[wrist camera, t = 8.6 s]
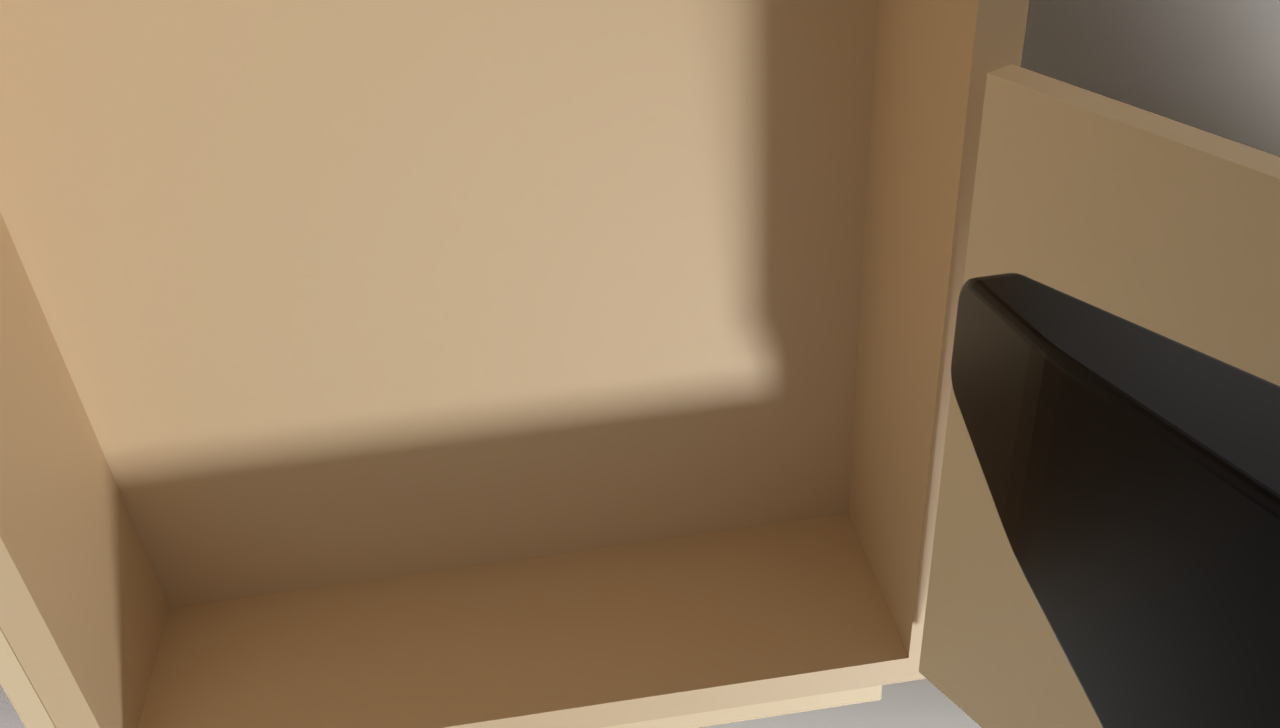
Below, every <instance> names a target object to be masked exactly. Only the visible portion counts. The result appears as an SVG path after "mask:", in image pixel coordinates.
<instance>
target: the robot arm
mask: <svg viewBox="0 0 1280 728" xmlns="http://www.w3.org/2000/svg"><path fill="white" fill-rule="evenodd" d="M951 380H952V386H953V391H954V395H955V398H956V401H957V403H958V406H959V409H960V411H961V414H962V417H963V420H964V422H965V425H966V428H967V430H968V433H969V436H970V439H971V441H972V444H973V447H974V450H975V452H976V455H977V458H978V460H979V463H980V466H981V469H982V471H983V474H984V477H985V479H986V482H987V485H988V488H989V490H990V493H991V496H992V498H993V501H994V504H995V507H996V509H997V512H998V515H999V517H1000V520H1001V523H1002V526H1003V528H1004V531H1005V533H1006V536H1007V538H1008V541H1009V543H1010V546H1011V548H1012V551H1013V553H1014V555H1015V557H1016V559H1017V561H1018V563H1019V565H1020V567H1021V569H1022V571H1023V574H1024V576H1025V578H1026V580H1027V582H1028V584H1029V585H1030V587H1031V589H1032V591H1033V593H1034V595H1035V597H1036V599H1037V601H1038V603H1039V605H1040V607H1041V609H1042V611H1043V613H1044V615H1045V617H1046V618H1047V620H1048V622H1049V624H1050V626H1051V628H1052V630H1053V632H1054V634H1055V636H1056V638H1057V640H1058V642H1059V644H1060V646H1061V648H1062V650H1063V651H1064V653H1065V655H1066V657H1067V659H1068V661H1069V663H1070V665H1071V667H1072V669H1073V671H1074V673H1075V675H1076V677H1077V679H1078V681H1079V682H1080V684H1081V686H1082V688H1083V690H1084V692H1085V694H1086V696H1087V698H1088V700H1089V702H1090V704H1091V706H1092V708H1093V710H1094V712H1095V714H1096V715H1097V717H1098V719H1099V721H1100V723H1101V725H1102V727H1103V728H1280V386H1278V385H1276V384H1274V383H1271V382H1269V381H1267V380H1264V379H1262V378H1260V377H1257V376H1255V375H1253V374H1250V373H1248V372H1246V371H1243V370H1241V369H1239V368H1237V367H1234V366H1232V365H1230V364H1227V363H1225V362H1223V361H1220V360H1218V359H1216V358H1213V357H1211V356H1209V355H1206V354H1204V353H1202V352H1199V351H1197V350H1195V349H1193V348H1190V347H1188V346H1186V345H1183V344H1181V343H1179V342H1176V341H1174V340H1172V339H1169V338H1167V337H1165V336H1162V335H1160V334H1158V333H1155V332H1153V331H1151V330H1149V329H1146V328H1144V327H1142V326H1139V325H1137V324H1135V323H1132V322H1130V321H1128V320H1125V319H1123V318H1121V317H1118V316H1116V315H1114V314H1112V313H1109V312H1107V311H1105V310H1102V309H1100V308H1098V307H1095V306H1093V305H1091V304H1088V303H1086V302H1084V301H1081V300H1079V299H1077V298H1075V297H1072V296H1070V295H1068V294H1065V293H1063V292H1061V291H1058V290H1056V289H1054V288H1051V287H1049V286H1047V285H1045V284H1042V283H1040V282H1038V281H1035V280H1033V279H1031V278H1028V277H1026V276H1024V275H1021V274H1018V273H1005V274H998V275H990V276H983V277H975V278H971V279H969V280H968V281H966V282H965V284H964V285H963V286H962V289H961V291H960V294H959V298H958V306H957V315H956V324H955V333H954V342H953V351H952V360H951Z"/></svg>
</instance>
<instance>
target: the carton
mask: <svg viewBox="0 0 1280 728" xmlns="http://www.w3.org/2000/svg"><path fill="white" fill-rule="evenodd" d="M1029 1H1030V0H0V684H1V686H2V687H3V689H4V691H5V693H6V694H7V696H8V698H9V700H10V701H11V703H12V705H13V706H14V708H15V710H16V712H17V713H18V715H19V717H20V718H21V720H22V722H23V724H24V725H25V727H26V728H699V727H706V726H713V725H719V724H726V723H732V722H739V721H745V720H752V719H759V718H765V717H772V716H778V715H785V714H791V713H798V712H805V711H811V710H818V709H824V708H831V707H837V706H844V705H851V704H857V703H864V702H870V701H877V700H881V692H882V685H887V684H894V683H900V682H907V681H913V680H920V679H927V678H925V677H924V676H923V675H922V674H921V673H920V672H919V663H920V654H921V645H922V637H923V628H924V619H925V610H926V602H927V593H928V584H929V576H930V567H931V558H932V549H933V541H934V532H935V523H936V515H937V506H938V497H939V488H940V480H941V471H942V462H943V454H944V445H945V436H946V427H947V419H948V410H949V401H950V393H951V384H952V380H951V360H952V351H953V342H954V333H955V324H956V315H957V306H958V298H959V294H960V291H961V289H962V286H963V279H964V271H965V262H966V253H967V244H968V236H969V227H970V218H971V210H972V201H973V192H974V183H975V175H976V166H977V157H978V149H979V140H980V131H981V122H982V114H983V105H984V96H985V88H986V79H987V73H989V72H992V71H995V70H997V69H1000V68H1003V67H1006V66H1008V65H1011V64H1014V65H1016V66H1019V67H1021V61H1022V54H1023V46H1024V39H1025V31H1026V24H1027V16H1028V8H1029Z"/></svg>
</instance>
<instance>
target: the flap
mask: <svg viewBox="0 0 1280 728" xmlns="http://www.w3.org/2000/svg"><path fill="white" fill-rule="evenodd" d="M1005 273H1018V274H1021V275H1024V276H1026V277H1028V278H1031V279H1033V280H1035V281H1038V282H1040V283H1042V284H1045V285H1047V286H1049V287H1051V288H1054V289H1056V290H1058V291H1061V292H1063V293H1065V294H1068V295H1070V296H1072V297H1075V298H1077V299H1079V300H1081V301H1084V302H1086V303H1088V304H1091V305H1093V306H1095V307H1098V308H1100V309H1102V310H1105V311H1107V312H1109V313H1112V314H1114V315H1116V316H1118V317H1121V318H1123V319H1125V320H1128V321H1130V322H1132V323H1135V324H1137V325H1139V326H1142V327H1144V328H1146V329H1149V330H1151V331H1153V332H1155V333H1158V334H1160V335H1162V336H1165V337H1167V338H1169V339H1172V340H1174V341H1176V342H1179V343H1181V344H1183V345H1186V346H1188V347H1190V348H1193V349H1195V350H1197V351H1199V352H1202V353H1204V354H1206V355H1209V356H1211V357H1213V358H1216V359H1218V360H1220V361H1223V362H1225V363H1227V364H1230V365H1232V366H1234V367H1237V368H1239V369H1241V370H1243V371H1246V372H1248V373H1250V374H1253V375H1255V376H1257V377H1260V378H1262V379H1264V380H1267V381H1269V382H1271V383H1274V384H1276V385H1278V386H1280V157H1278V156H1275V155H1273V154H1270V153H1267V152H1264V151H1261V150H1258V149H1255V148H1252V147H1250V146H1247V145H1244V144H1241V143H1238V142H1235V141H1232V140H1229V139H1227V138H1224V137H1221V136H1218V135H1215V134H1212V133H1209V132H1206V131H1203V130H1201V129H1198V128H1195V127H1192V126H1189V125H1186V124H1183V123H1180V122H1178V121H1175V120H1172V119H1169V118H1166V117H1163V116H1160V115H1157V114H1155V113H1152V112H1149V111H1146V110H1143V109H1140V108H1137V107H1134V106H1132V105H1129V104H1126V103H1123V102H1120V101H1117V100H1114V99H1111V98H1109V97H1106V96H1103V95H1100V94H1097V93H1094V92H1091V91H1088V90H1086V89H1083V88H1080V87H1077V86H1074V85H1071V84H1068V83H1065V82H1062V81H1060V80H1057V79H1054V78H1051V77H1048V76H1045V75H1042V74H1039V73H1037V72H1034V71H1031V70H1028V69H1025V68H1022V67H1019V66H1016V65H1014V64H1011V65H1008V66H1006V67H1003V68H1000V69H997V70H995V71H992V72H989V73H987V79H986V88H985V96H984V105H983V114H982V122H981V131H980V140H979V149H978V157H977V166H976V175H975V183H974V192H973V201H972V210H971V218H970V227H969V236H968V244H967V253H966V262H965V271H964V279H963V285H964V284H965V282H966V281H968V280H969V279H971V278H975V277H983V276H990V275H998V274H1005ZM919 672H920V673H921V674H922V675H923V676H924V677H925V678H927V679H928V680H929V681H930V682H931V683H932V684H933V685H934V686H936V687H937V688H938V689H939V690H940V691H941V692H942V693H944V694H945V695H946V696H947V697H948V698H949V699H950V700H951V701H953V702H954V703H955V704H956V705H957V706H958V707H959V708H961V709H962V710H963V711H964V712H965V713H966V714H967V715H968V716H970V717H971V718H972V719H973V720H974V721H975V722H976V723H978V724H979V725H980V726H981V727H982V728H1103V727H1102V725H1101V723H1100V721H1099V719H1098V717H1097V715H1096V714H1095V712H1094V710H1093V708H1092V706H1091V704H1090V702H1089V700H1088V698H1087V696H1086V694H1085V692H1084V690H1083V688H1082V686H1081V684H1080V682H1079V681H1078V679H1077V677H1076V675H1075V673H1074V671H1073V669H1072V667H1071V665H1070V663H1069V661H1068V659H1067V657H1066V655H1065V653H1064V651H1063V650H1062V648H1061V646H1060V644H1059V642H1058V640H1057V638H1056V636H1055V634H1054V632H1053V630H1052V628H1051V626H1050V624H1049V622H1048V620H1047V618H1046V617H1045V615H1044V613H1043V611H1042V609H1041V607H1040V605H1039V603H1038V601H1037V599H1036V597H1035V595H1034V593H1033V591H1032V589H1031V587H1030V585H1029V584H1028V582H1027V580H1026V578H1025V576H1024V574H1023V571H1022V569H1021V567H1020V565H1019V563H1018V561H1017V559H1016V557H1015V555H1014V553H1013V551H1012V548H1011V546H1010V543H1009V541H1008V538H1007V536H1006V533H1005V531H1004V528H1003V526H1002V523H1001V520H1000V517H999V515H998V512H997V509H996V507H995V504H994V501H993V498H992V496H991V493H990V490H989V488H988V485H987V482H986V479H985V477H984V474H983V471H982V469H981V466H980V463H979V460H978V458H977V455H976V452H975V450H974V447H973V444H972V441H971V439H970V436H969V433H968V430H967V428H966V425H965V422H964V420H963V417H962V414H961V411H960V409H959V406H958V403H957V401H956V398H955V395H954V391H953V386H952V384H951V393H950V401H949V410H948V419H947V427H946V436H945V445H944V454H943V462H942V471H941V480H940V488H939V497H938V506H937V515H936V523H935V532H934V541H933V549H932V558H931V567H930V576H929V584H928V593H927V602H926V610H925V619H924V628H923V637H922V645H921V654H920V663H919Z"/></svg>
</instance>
